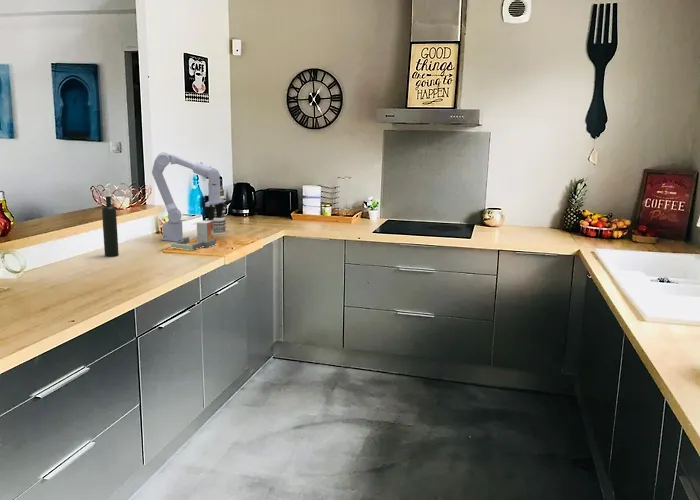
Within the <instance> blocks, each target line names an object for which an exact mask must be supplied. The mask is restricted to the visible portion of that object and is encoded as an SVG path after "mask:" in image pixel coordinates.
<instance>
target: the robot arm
mask: <svg viewBox="0 0 700 500" xmlns="http://www.w3.org/2000/svg"><path fill="white" fill-rule="evenodd" d="M169 164H170V165H179V166H181V167H185V168H187V169H190V170H191V171H192V172H193V173H194V174H196V175H197V176H201V177H203V178H208V183H207V186H208V190H207V191H208V200H207V202H205V203H204V204H205V205H203V209H204V210H205V211H206V214H207V216H208V219H209V220H208V221H210V220H214V211H215V208H216V213H217V218H221V217H222V212H223V209H224V208H225V207H226V206H225V205H226V203H225V204H223V203H224V202H225V200H224V199H225V198H224V199H220V187H221V185H220V177H221V174H220V172H219V170H218V169H216V168H215V167H213V166H211V165H209V166H208V165H206V164H204V163H203V162H198V161H197V162H195V163H193V162H192V161H189V160H187V159H184V158H183V157H180V156H177V155H174V154H171V153H167V152H160V153H158V155H157V156H156V158H155V159H154V162H153V167H152V169H151V174H152V176H153V179H154V182H155V184H156V186H157V189H158V191H159V194H160V196H161V199H162V201H163V203H164V205H165V209H166V212H167V220H168V221H165V222H164V223H163V224H162V229H161V230H162V239H161V240H162V241H167V242H178V240H179V239H182V238H184V234H183V220H181V219H182V212H181V210H180V209H179V208H178V207H177V204H176V203H175V201H174V198H173V196H172V194H171V192H170V189H169V185H168V184H167V182H166V178H165V177H164V174H163V173H164V170H165V169H166V167H167V166H168V165H169ZM212 205H214V206H215V207H213V206H212Z"/></svg>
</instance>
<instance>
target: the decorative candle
mask: <svg viewBox="0 0 700 500" xmlns="http://www.w3.org/2000/svg"><path fill="white" fill-rule="evenodd" d="M225 197H226V196H225V189H224V188H223V187H222V186H220V199H224V203H223V204H225V207H226V203H227V202H226V199H227V198H225ZM212 206H213V207H215V206H214V205H212ZM225 207H224V209H223V212H222V217H221V218H217V213H216V208H215V211H214V220H209V221H213V223H214V235H225V234H226V233H227V232H226V231H227V229H226V228H227V227H226V217H225V216H226V215H225V213H226V208H225Z"/></svg>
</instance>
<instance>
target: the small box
mask: <svg viewBox="0 0 700 500" xmlns="http://www.w3.org/2000/svg"><path fill="white" fill-rule="evenodd" d="M196 240H197V241H196V243H199V242H208V241H211V240H215V234H214V223H213V221H210V220H206V219H205V220H204V219H203V220H201V221H198V222H196Z"/></svg>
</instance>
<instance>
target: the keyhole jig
mask: <svg viewBox="0 0 700 500" xmlns="http://www.w3.org/2000/svg"><path fill="white" fill-rule="evenodd" d="M187 242H188V243H190V237H189V236H185V237H183V238H182V239H179V240H178V241H174V242H171V243H170V248H171V247H176V248H183V249H189V250H193V249H196V248H199V249H201V248H200V247H202V246H204V247H202V248H205V247H208V248H210V247H209V246H211V247H213V246H212V245H214V246H216V245H215V244H217V241H216V239H214V240H211V241H208V242H199V243H197V242H196V243H194V244H188V243H187ZM196 250H197V249H196ZM193 251H194V250H193Z"/></svg>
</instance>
